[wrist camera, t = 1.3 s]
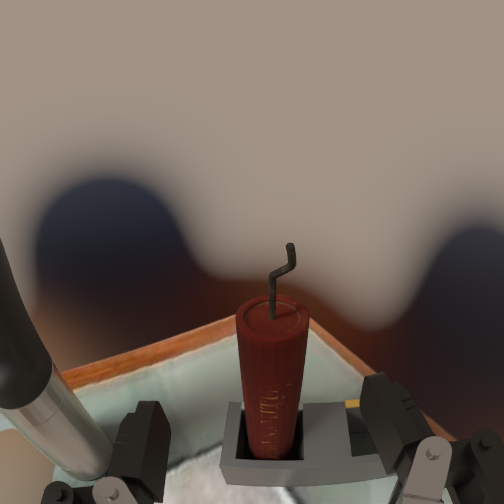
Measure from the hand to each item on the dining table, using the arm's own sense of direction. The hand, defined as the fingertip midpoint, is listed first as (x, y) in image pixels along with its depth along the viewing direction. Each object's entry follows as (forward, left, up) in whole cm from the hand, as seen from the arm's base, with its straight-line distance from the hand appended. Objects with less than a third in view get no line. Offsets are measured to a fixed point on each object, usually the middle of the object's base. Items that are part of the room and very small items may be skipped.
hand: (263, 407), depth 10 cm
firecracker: (0, +9, -27) cm, 29 cm away
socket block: (+6, +9, -27) cm, 29 cm away
